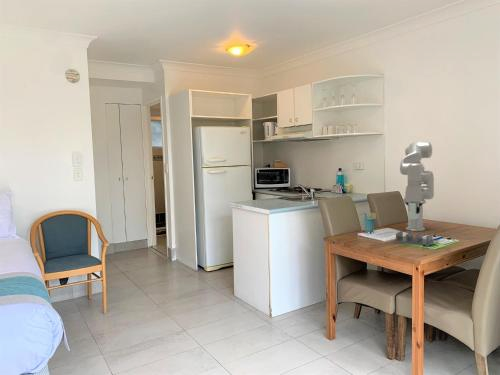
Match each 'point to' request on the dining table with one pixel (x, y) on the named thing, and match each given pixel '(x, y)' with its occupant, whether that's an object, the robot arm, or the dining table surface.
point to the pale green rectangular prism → (413, 210)
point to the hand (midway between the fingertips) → (414, 212)
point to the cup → (369, 222)
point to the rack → (414, 239)
